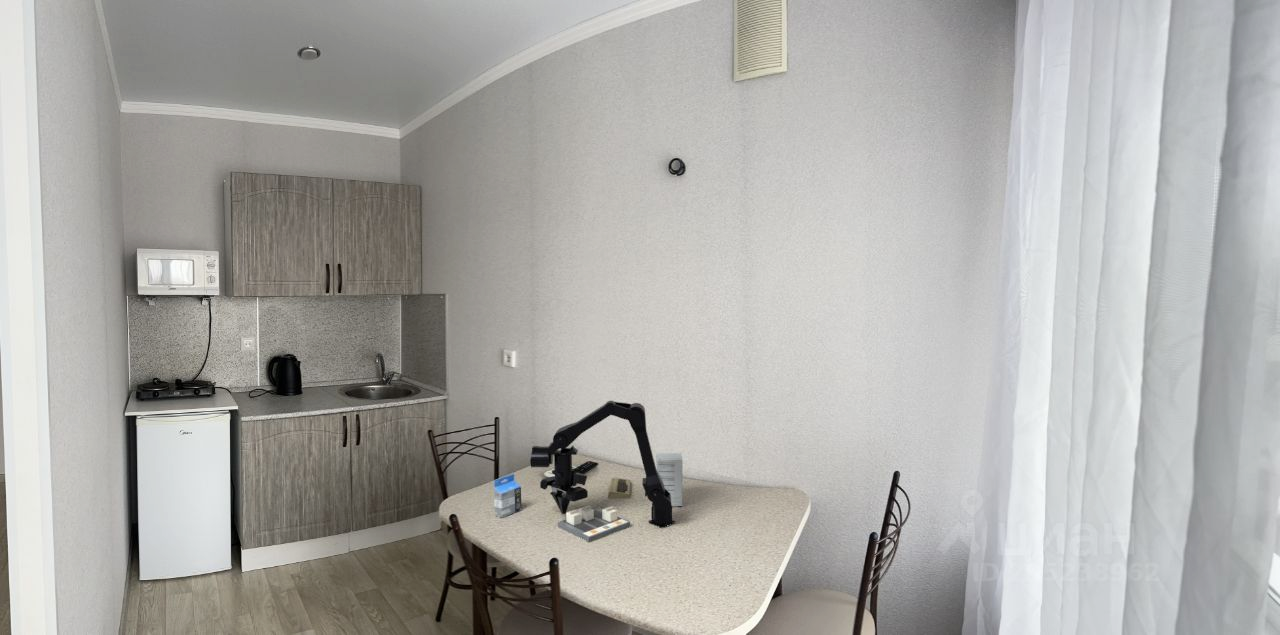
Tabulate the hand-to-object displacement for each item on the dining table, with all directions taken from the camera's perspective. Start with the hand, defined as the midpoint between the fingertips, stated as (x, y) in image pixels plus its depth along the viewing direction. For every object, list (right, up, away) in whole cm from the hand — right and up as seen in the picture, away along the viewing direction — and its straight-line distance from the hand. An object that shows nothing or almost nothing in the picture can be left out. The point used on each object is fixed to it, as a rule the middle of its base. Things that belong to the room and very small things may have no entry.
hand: (563, 514), depth 193 cm
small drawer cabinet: (+35, -2, +18) cm, 40 cm away
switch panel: (+10, -3, -4) cm, 11 cm away
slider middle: (+7, -1, -1) cm, 8 cm away
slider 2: (+15, -1, -2) cm, 15 cm away
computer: (+17, -2, +29) cm, 34 cm away
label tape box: (-20, -3, +8) cm, 22 cm away
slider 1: (+4, -1, -4) cm, 6 cm away
